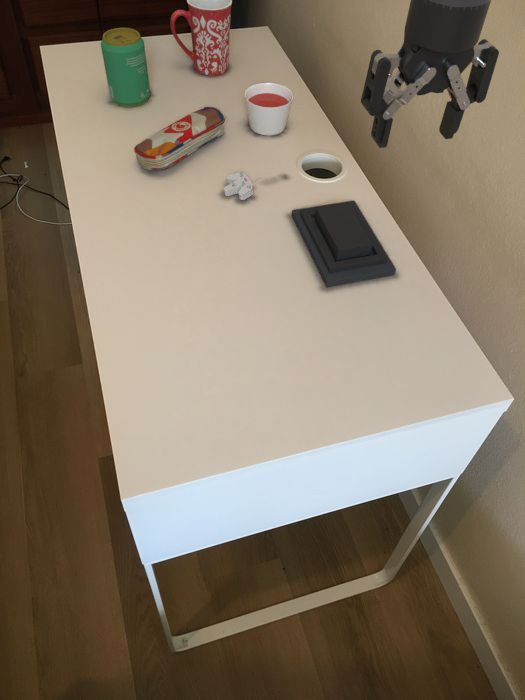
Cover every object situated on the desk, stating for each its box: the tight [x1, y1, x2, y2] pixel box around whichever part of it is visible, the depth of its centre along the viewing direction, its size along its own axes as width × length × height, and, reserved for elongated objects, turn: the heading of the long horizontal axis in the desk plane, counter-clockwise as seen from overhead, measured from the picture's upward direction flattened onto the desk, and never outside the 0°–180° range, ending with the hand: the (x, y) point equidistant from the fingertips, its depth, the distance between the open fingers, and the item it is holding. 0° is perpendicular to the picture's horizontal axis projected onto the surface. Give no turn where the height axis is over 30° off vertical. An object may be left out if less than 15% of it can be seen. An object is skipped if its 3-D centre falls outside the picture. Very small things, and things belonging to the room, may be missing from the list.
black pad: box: [315, 204, 373, 262], centre depth 89 cm, size 10×6×2 cm, turn 16°
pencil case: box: [133, 106, 226, 171], centre depth 103 cm, size 11×20×5 cm, turn 128°
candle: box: [244, 82, 294, 137], centre depth 108 cm, size 9×9×6 cm
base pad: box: [291, 200, 397, 288], centre depth 90 cm, size 17×11×2 cm, turn 16°
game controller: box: [223, 172, 287, 201], centre depth 99 cm, size 6×12×3 cm, turn 136°
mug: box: [169, 0, 233, 77], centre depth 119 cm, size 13×9×14 cm
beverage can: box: [100, 27, 151, 108], centre depth 111 cm, size 8×8×12 cm
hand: (413, 139), depth 68 cm, fingers open, 8 cm apart
